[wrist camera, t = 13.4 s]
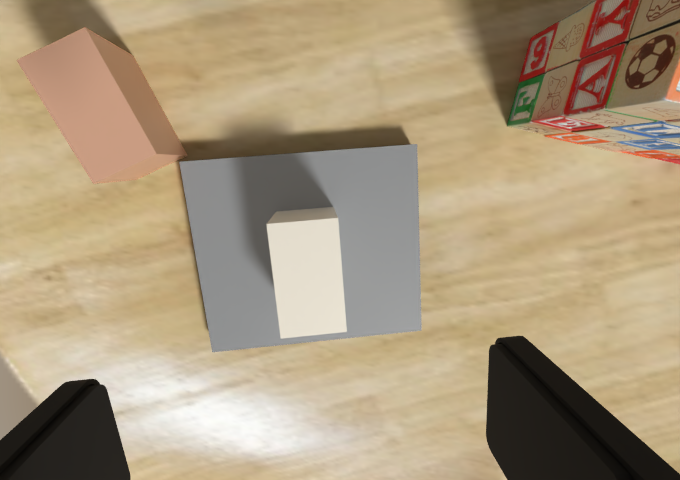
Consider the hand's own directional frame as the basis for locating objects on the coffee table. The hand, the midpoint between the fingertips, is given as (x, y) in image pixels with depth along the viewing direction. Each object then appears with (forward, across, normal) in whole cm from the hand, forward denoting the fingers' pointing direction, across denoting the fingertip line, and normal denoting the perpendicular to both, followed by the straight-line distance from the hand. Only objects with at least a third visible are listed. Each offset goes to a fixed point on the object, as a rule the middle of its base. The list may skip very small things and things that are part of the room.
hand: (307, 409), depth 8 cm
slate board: (+18, 0, +1) cm, 18 cm away
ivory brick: (+17, 0, +1) cm, 17 cm away
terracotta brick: (+18, +11, -9) cm, 24 cm away
